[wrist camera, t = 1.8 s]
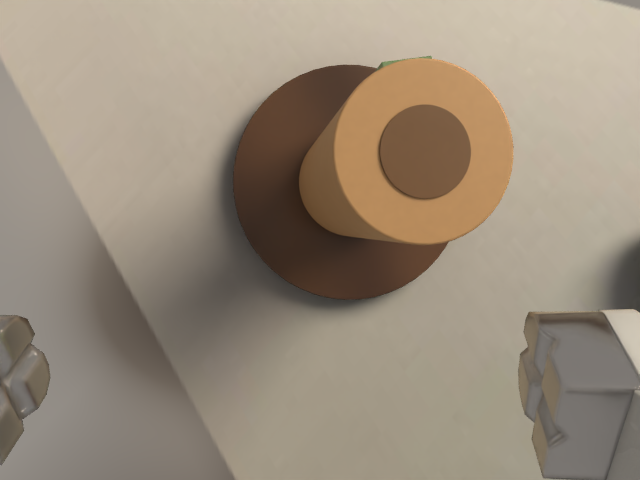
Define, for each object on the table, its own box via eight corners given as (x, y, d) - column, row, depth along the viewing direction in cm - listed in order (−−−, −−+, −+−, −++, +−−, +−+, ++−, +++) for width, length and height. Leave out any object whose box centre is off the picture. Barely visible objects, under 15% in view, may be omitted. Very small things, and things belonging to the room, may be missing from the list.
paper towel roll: (319, 251, 33) (368, 271, 19) (282, 143, 33) (304, 82, 19) (419, 216, 34) (538, 210, 20) (385, 109, 33) (481, 26, 19)
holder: (278, 329, 34) (279, 334, 33) (201, 110, 34) (198, 104, 32) (486, 253, 36) (496, 254, 34) (417, 41, 35) (424, 33, 33)
